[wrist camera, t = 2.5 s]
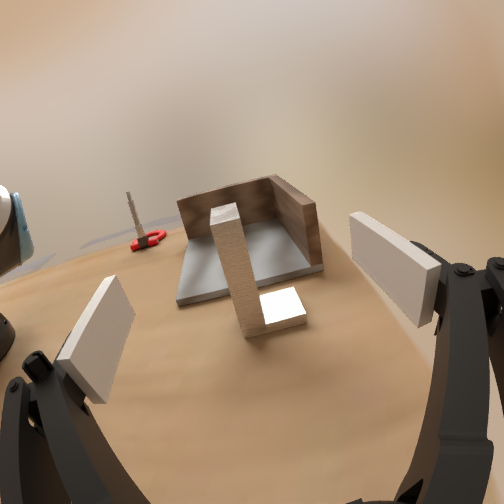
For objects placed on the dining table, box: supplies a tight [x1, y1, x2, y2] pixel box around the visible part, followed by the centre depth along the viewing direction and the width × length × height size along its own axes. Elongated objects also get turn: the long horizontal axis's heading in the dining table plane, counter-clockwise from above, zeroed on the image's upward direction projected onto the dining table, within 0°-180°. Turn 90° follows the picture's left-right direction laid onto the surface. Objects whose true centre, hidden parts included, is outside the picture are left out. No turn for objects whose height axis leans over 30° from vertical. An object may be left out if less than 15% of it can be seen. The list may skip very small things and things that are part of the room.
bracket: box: [210, 202, 307, 338], centre depth 26 cm, size 6×5×12 cm
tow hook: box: [126, 192, 166, 251], centre depth 58 cm, size 8×13×9 cm
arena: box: [176, 175, 323, 306], centre depth 42 cm, size 19×22×9 cm
